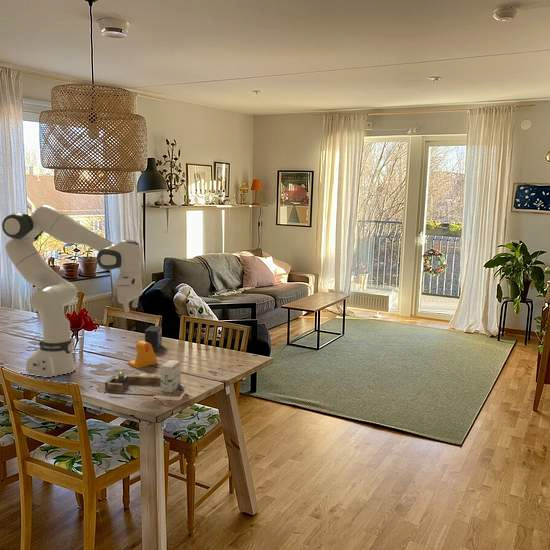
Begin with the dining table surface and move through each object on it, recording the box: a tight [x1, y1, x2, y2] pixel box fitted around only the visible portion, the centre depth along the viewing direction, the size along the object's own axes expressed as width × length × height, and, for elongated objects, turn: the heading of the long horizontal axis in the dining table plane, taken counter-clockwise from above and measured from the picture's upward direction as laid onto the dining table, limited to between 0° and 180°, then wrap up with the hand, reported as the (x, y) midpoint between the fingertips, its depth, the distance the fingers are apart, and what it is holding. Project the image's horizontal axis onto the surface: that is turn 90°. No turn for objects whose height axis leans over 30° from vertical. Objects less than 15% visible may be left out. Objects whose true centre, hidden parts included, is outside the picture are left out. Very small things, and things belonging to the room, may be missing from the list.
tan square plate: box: [137, 372, 157, 377], centre depth 234 cm, size 7×7×1 cm
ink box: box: [159, 359, 181, 393], centre depth 220 cm, size 9×5×12 cm, turn 163°
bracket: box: [128, 340, 158, 369], centre depth 249 cm, size 11×7×12 cm, turn 140°
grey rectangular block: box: [114, 370, 129, 389], centre depth 221 cm, size 4×4×6 cm
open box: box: [103, 374, 161, 397], centre depth 221 cm, size 20×11×4 cm, turn 85°
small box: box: [144, 325, 163, 352], centre depth 278 cm, size 11×6×10 cm, turn 178°
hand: (131, 309), depth 235 cm, fingers open, 8 cm apart
